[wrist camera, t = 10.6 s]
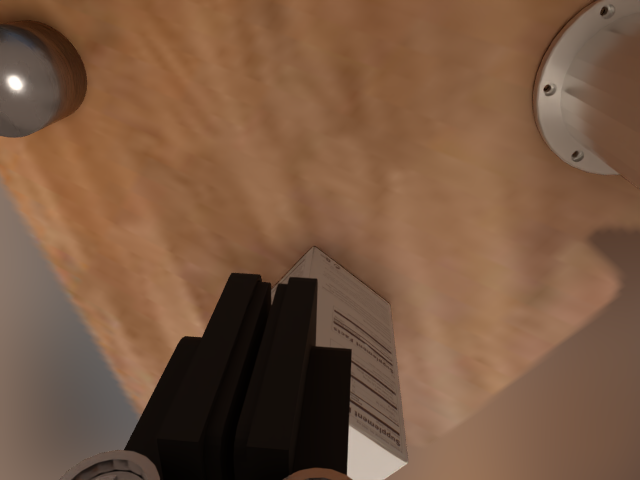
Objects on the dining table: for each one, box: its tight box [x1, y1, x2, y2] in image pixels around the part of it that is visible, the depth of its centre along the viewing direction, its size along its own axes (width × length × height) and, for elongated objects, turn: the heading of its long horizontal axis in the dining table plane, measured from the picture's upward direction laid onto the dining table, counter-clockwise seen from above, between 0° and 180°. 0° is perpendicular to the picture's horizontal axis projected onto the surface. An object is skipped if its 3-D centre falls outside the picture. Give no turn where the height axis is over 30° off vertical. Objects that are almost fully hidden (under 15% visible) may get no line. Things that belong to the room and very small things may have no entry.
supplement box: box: [271, 247, 408, 480], centre depth 38 cm, size 10×9×17 cm
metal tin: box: [0, 21, 87, 137], centre depth 35 cm, size 7×7×5 cm
